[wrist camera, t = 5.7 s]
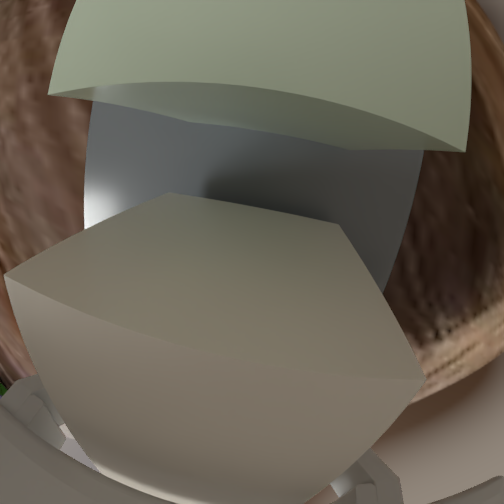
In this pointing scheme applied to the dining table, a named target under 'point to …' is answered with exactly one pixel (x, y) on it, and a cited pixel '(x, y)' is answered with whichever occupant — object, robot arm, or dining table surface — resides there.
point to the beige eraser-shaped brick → (215, 349)
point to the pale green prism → (280, 66)
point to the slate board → (251, 176)
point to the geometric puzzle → (2, 390)
